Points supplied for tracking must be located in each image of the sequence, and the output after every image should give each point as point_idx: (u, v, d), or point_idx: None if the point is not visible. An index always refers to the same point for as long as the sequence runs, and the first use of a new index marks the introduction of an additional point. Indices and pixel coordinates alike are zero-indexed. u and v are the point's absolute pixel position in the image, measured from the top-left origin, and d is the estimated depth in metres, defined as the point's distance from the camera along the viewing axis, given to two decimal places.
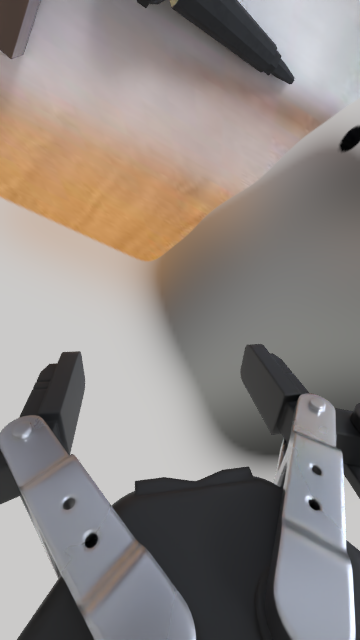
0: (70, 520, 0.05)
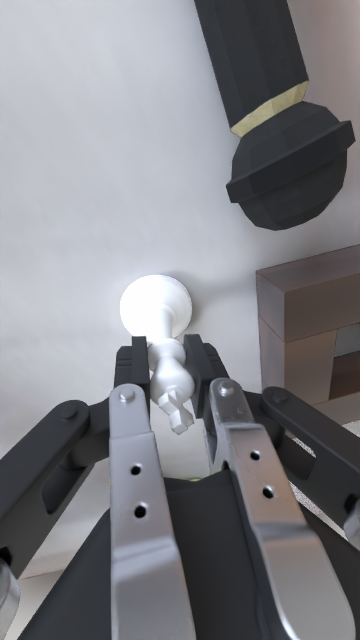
0: (131, 484, 0.06)
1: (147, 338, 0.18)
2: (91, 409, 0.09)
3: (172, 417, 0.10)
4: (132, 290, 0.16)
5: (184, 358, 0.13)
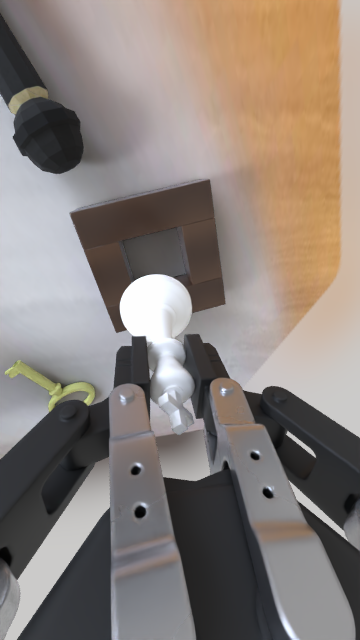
0: (131, 484, 0.06)
1: (147, 338, 0.18)
2: (91, 409, 0.09)
3: (172, 417, 0.10)
4: (132, 290, 0.16)
5: (184, 358, 0.13)
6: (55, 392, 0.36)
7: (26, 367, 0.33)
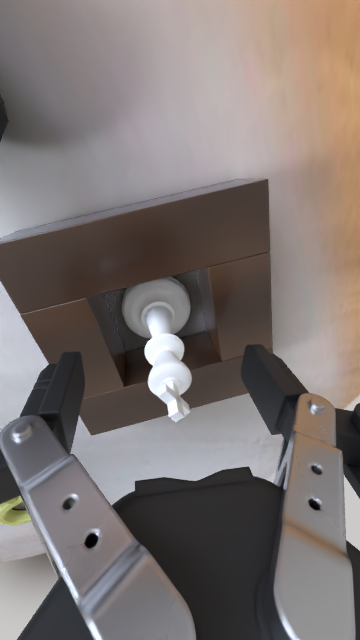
0: (70, 520, 0.05)
1: (147, 335, 0.19)
2: None
3: (169, 406, 0.10)
4: (133, 288, 0.17)
5: (182, 353, 0.14)
6: (4, 502, 0.24)
7: None
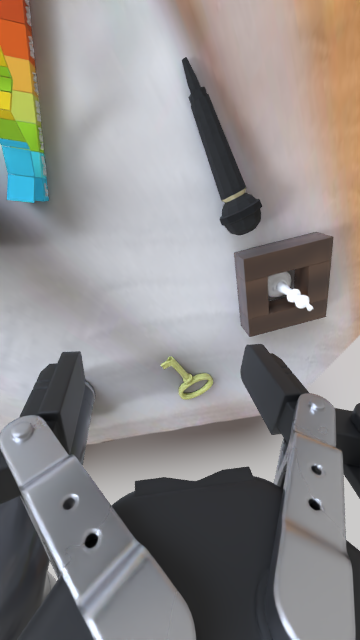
0: (70, 520, 0.05)
1: (272, 294, 0.43)
2: None
3: (308, 306, 0.35)
4: None
5: None
6: (190, 380, 0.48)
7: (176, 361, 0.46)
